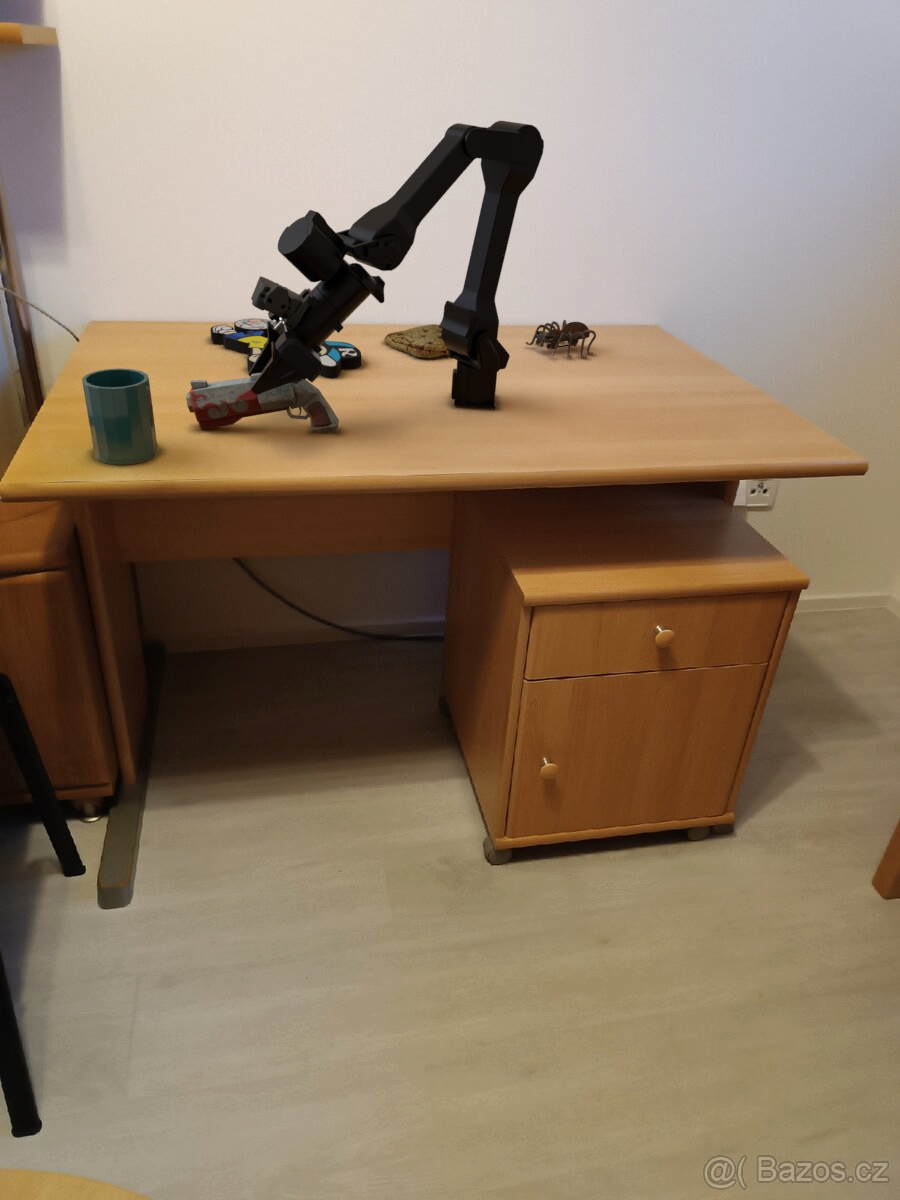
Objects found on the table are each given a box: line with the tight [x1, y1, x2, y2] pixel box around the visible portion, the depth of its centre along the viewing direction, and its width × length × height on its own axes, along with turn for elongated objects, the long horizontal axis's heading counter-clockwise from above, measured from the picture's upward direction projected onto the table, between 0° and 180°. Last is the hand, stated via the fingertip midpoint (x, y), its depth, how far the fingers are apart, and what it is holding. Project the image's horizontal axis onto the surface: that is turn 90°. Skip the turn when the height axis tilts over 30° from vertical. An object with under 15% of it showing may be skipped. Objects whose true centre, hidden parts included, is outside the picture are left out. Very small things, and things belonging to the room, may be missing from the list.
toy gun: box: [185, 373, 340, 434], centre depth 123 cm, size 4×20×10 cm, turn 94°
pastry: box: [384, 323, 449, 359], centre depth 163 cm, size 17×17×3 cm
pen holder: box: [81, 367, 159, 466], centre depth 112 cm, size 8×8×10 cm
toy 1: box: [209, 318, 362, 379], centre depth 154 cm, size 28×2×30 cm
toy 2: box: [525, 319, 597, 359], centre depth 166 cm, size 12×12×5 cm
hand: (252, 384), depth 121 cm, fingers open, 6 cm apart
